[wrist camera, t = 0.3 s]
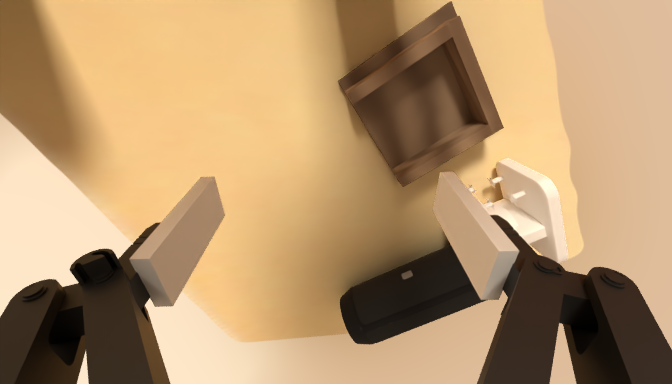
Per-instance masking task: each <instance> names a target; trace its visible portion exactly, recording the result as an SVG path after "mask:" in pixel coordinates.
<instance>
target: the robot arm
mask: <svg viewBox="0 0 672 384" xmlns="http://www.w3.org/2000/svg"><path fill="white" fill-rule="evenodd" d="M433 213H434V214H435V216H436V218H437V220H438V222H439V224H440V226H441V227H442V229H443V231H444V233H445V235H446V237H447V238H448V240H449V242H450V244H451V246H452V248H453V250H454V251H455V253H456V255H457V257H458V259H459V261H460V262H461V264H462V266H463V268H464V270H465V272H466V274H467V275H468V277H469V279H470V281H471V283H472V285H473V286H474V288H475V290H476V292H477V294H478V296H479V298H480V299H481V300H498V299H499V298H500V295H501V293H502V291H503V290H504V292H505V293H506V295H507V296H508V299H507V302H506V304H505V306H504V308H503V311H502V313H501V318H500V321H499V324H498V327H497V329H496V332H495V335H494V338H493V341H492V343H491V346H490V349H489V352H488V355H487V357H486V360H485V363H484V366H483V369H482V372H481V374H480V377H479V380H478V382H477V384H549V382H550V376H551V370H552V364H553V357H554V350H555V345H556V337H557V331H558V326H559V323H562V324H563V326H564V330H565V335H566V339H567V343H568V348H569V352H570V356H571V361H572V365H573V370H574V374H575V378H576V383H577V384H672V350H671V348H670V346H669V344H668V343H667V340H666V339H665V337H664V335H663V333H662V331H661V329H660V328H659V326H658V324H657V322H656V320H655V319H654V316H653V315H652V313H651V311H650V309H649V307H648V305H647V304H646V302H645V300H644V298H643V296H642V294H641V293H640V291H639V289H638V287H637V286H636V285H635V283H634V282H633V281H632V280H631V279H629V278H628V277H627V276H625V275H623V274H622V273H619V272H617V271H615V270H611V269H609V268H604V267H594V268H592V269H591V270H590V271H589V273H588V274H587V275H583V274H578V273H573V272H568V271H565V270H564V268H563V267H562V266H561V265H560V264H558V263H557V262H556V261H554V260H552V259H550V258H548V257H544V256H540V255H537V254H536V252H535V251H534V250H533V249H532V248H531V247H530V246H529V245H528V244H527V242H526V241H525V240H524V239H523V238H522V237H521V236H519V234H518V232H517V231H516V230H514V228H513V227H512V226H511V225H510V224H509V222H508V221H506V220H505V219H503V218H502V217H500V216H499V215H489V214H488V213H487V211H486V210H485V209H484V208H483V207H482V205H481V204H480V203H479V202H478V201H477V199H476V198H475V197H474V196H473V195H472V193H471V192H470V191H469V190H468V189H467V187H466V186H465V185H464V184H463V183H462V181H461V180H460V179H459V178H458V177H457V175H456V174H455V173H454V172H440V175H439V180H438V186H437V191H436V196H435V201H434V206H433ZM224 216H225V214H224V210H223V206H222V203H221V199H220V195H219V192H218V188H217V185H216V181H215V177H201V178H200V179H199V180H198V181H197V182H196V183H195V185H194V186H193V187H192V188H191V189H190V190H189V191H188V193H187V194H186V195H185V196H184V197H183V198H182V199H181V201H180V202H179V203H178V204H177V205H176V206H175V207H174V209H173V210H172V211H171V212H170V213H169V214H168V215H167V216H166V218H165V219H164V220H163V221H162V222H161V223H155V224H153V225H152V226H150V227H149V228H147V229H146V230H145V231H144V232H143V233H142V234H141V235H140V236H139V238H137V239H136V241H135V242H134V243H133V245H131V246H130V247H129V248H128V249H127V250H126V251H125V252H124V254H123V255H122V256H121V257H120V258H119V259H117V257H116V255H115V253H114V252H113V251H112V250H110V249H99V250H96V251H92V252H90V253H88V254H85V255H83V256H82V257H80V258H79V259H77V260H76V261H75V262H74V263H73V264H72V265H71V268H70V271H71V272H72V274H73V275H74V277H75V278H76V279H77V281H78V282H79V283H78V284H74V285H70V286H65V287H62V286H61V285H60V284H59V283H58V282H57V281H56V280H52V279H48V280H43V281H39V282H36V283H33V284H31V285H29V286H27V287H25V288H24V289H22V290H21V291H20V292H18V293H17V294H16V295H15V296H14V297H13V298H12V299H11V300H10V302H9V304H8V305H7V307H6V309H5V310H4V312H3V314H2V315H1V317H0V384H77V380H78V376H79V373H80V369H81V365H82V362H83V358H84V354H85V351H86V354H87V366H88V379H89V384H170V382H169V378H168V375H167V372H166V369H165V366H164V362H163V359H162V356H161V353H160V349H159V346H158V343H157V340H156V336H155V333H154V330H153V327H152V324H151V320H150V317H149V314H148V311H147V309H146V307H145V304H146V302H147V301H148V300H149V298H151V300H152V302H153V304H154V306H155V307H157V306H158V307H159V306H173V305H174V303H175V302H176V300H177V298H178V296H179V294H180V293H181V291H182V289H183V288H184V286H185V284H186V282H187V281H188V279H189V277H190V276H191V274H192V272H193V270H194V269H195V267H196V265H197V263H198V262H199V260H200V258H201V256H202V255H203V253H204V251H205V249H206V248H207V246H208V244H209V242H210V241H211V239H212V237H213V235H214V234H215V232H216V230H217V228H218V227H219V225H220V223H221V222H222V220H223V218H224Z"/></svg>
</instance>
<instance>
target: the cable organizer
mask: <svg viewBox="0 0 672 384" xmlns="http://www.w3.org/2000/svg"><path fill="white" fill-rule="evenodd" d="M496 171H497V175H498V177H497V178H495V179H492V180H491V178H490V180H489V179H488V178H487V179H488V180H489V182H490V185H493V186H494V185H495V183H498V182H499V183H500V187H501V191H502V195H503V199H501V200H499V201H496V202H494V203H491V201H490V199H489V200H487V199H486V198H485V199H486V200H487V201H488V202H487V203H485V204H483V203H481V202H480V201H479V200H478V199H477V198H476V199H477V201H478V202H479V203H480V204H481V205H482V207H483V208H484V209H485V210H486V211H487V213H488V214H489V215H499V216H500V217H502V218H503V219H505V220H506V221H508V222H509V224H510V225H511V226H512V227H513V228H514V230H516V231H517V232H518V234H519V236H521V237H522V238H523V239H524V240H525V241H526V242H527V244H528V245H529V244H530V245H531V246H532V247H534V248H535V249H536V250H537V251H538V252H539V253H541V254H542V255H543V256H544V257H548V258H550V259H552V260H554V261H556V262H557V263H558V264H559V263H561V262H564V261H566V260H567V259H568V250H567V243H566V237H565V230H564V224H563V217H562V211H561V204H560V198H559V193H558V191H557V188H556V187H555V185H554V183H553V182H552V181H551V180H550V179H549V178H548V177H546V176H544V175H542V174H540V173H538V172H536V171H534V170H532V169H530V168H528V167H526V166H524V165H522V164H520V163H518V162H515V161H513V160H511V159H509V158H505V159H503V160H501V161H498V162H497V163H496ZM469 186H470V185H469ZM494 188H495V186H494ZM495 189H496V188H495ZM468 190H469V191H470V192H474V193H475V191H476V190H475V189H474V188H473V187H472V185H471V186H470V188H468ZM475 194H476V193H475Z"/></svg>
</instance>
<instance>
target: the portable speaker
mask: <svg viewBox="0 0 672 384" xmlns="http://www.w3.org/2000/svg"><path fill="white" fill-rule="evenodd" d="M483 301H486V300H481V299H480V298H479V296H478V294H477V292H476V290H475V288H474V286H473V285H472V283H471V281H470V279H469V277H468V275H467V274H466V272H465V270H464V268H463V266H462V264H461V262H460V261H459V259H458V257H457V255H456V253H455V251H454V250H453V248H452V246H451V245H450V246H447V247H445V248H443V249H440V250H438V251H436V252H433V253H431V254H429V255H426V256H424V257H422V258H419V259H417V260H415V261H412V262H410V263H408V264H405V265H403V266H401V267H398V268H396V269H394V270H391V271H389V272H387V273H384V274H382V275H380V276H377V277H375V278H373V279H370V280H368V281H366V282H363V283H361V284H359V285H356V286H354V287H351V288H350V289H349V290H348V291H347V292H346V293H345V294H344V295H343V296H342V297H341V299H340V308H341V313H342V317H343V320H344V323H345V326H346V328H347V330H348V333H349V334H350V336H351V338H352V339H353V341H354V342H355V343H357V344H374V343H378V342H380V341H383V340H386V339H388V338H391V337H393V336H396V335H399V334H401V333H403V332H406V331H409V330H411V329H414V328H417V327H419V326H422V325H424V324H427V323H429V322H432V321H435V320H437V319H440V318H442V317H445V316H447V315H450V314H453V313H455V312H458V311H460V310H463V309H465V308H468V307H471V306H473V305H475V304H478V303H480V302H483Z"/></svg>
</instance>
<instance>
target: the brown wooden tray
mask: <svg viewBox="0 0 672 384" xmlns="http://www.w3.org/2000/svg"><path fill="white" fill-rule="evenodd" d="M338 82H339V84H340V85H341V87H342V89H343V90H344V92H345V94H346V95H347V97H348V99H349V100H350V102H351V103H352V105H353V107H354V108H355V110H356V112H357V113H358V115H359V117H360V118H361V120H362V121H363V123H364V125H365V126H366V128H367V130H368V131H369V133H370V135H371V136H372V138H373V140H374V141H375V143H376V144H377V146H378V148H379V149H380V151H381V153H382V154H383V156H384V158H385V159H386V161H387V163H388V164H389V166H390V167H391V169H392V171H393V172H394V174H395V176H396V177H397V179H398V181H399V182H400V184H402V186H403V187H404V186H406V185H407V184H409V183H411V182H413V181H414V180H416V179H418V178H419V177H421V176H423V175H424V174H426V173H428V172H429V171H431V170H433V169H435V168H436V167H438V166H440V165H441V164H443V163H445V162H446V161H448V160H450V159H451V158H453V157H455V156H457V155H458V154H460V153H462V152H463V151H465V150H467V149H468V148H470V147H472V146H474V145H475V144H477V143H479V142H480V141H482V140H484V139H485V138H487V137H489V136H490V135H492V134H494V133H496V132H497V131H499V130H501V129H502V128H504V127H503V125H502V122H501V120H500V117H499V115H498V112H497V110H496V107H495V105H494V102H493V100H492V97H491V94H490V92H489V89H488V87H487V84H486V82H485V79H484V77H483V74H482V72H481V69H480V67H479V64H478V61H477V59H476V56H475V54H474V51H473V49H472V46H471V44H470V41H469V39H468V36H467V34H466V31H465V28H464V26H463V23H462V21H461V18H460V16H457V14H456V12H455V9H454V7H453V4H452V2H449V3H447V4H446V5H444V6H443V7H442V8H440V9H439V10H437V11H436V12H435V13H433V14H432V15H430V16H429V17H428V18H426V19H425V20H423V21H422V22H421V23H419V24H418V25H416V26H415V27H413V28H412V29H411V30H409V31H408V32H406V33H405V34H404V35H402V36H401V37H399V38H398V39H397V40H395V41H394V42H392V43H391V44H390V45H388V46H387V47H385V48H384V49H383V50H381V51H380V52H378V53H377V54H375V55H374V56H373V57H371V58H370V59H368V60H367V61H366V62H364V63H363V64H361V65H360V66H359V67H357V68H356V69H354V70H353V71H352V72H350V73H349V74H347V75H346V76H344V77H343V78H342V79H340V80H339V81H338Z"/></svg>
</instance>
